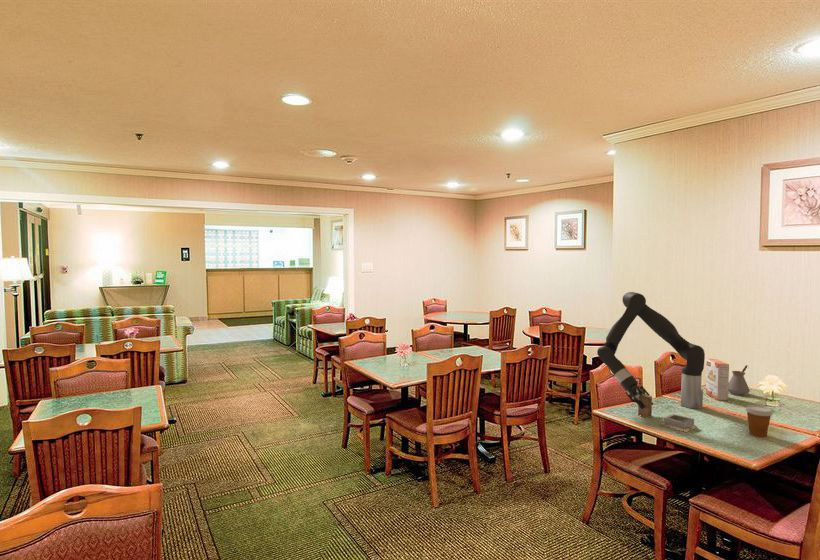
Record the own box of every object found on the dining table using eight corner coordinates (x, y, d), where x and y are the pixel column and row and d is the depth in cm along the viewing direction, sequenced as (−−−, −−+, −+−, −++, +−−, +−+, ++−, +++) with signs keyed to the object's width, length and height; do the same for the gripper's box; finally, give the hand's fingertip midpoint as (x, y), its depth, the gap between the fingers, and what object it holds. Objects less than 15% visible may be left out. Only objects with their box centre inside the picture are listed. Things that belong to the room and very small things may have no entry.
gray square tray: (671, 420, 231) (672, 413, 231) (696, 427, 222) (696, 419, 222) (661, 425, 224) (661, 417, 224) (686, 432, 215) (686, 424, 215)
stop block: (642, 413, 242) (643, 394, 241) (651, 416, 238) (652, 396, 238) (638, 415, 239) (638, 395, 239) (647, 417, 235) (647, 397, 235)
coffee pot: (745, 397, 272) (746, 371, 271) (722, 393, 281) (723, 368, 280) (757, 391, 285) (758, 366, 285) (735, 387, 294) (736, 363, 294)
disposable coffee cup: (762, 440, 207) (763, 412, 206) (740, 432, 215) (741, 406, 215) (776, 437, 210) (777, 410, 210) (753, 430, 219) (754, 404, 219)
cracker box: (704, 393, 279) (706, 358, 279) (715, 394, 279) (717, 358, 278) (716, 400, 266) (718, 363, 265) (728, 401, 265) (729, 363, 264)
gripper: (623, 377, 239) (646, 405, 231) (638, 373, 248) (660, 400, 239) (613, 385, 244) (635, 413, 235) (628, 381, 252) (649, 408, 244)
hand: (647, 406), depth 237 cm, fingers open, 8 cm apart
